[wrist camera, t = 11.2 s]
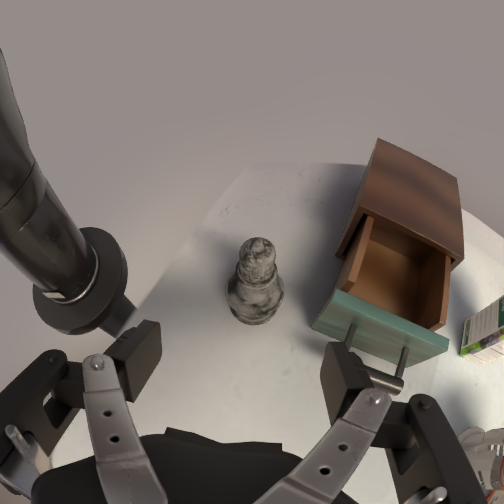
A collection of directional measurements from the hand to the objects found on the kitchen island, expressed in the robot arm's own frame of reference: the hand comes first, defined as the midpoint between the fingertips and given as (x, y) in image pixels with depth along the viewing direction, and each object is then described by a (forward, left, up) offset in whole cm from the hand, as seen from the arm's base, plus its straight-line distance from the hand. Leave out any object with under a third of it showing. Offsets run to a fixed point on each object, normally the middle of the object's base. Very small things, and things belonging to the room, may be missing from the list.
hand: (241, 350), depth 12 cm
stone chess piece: (-3, +8, -16) cm, 18 cm away
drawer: (+10, +13, -15) cm, 22 cm away
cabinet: (+10, +26, -15) cm, 32 cm away
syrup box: (+28, +15, -16) cm, 35 cm away
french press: (+32, -1, -16) cm, 36 cm away
